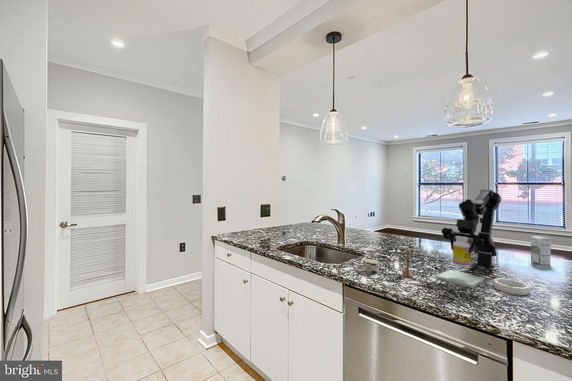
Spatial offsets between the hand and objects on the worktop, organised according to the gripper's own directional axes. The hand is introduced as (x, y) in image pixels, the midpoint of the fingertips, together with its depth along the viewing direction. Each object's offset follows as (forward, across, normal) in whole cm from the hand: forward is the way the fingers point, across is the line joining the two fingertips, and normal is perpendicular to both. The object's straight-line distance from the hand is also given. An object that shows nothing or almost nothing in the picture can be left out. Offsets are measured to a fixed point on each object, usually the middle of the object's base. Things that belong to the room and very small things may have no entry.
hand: (460, 251), depth 117 cm
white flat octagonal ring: (+6, +17, +13) cm, 22 cm away
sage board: (+9, 0, +10) cm, 13 cm away
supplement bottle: (+4, 0, +6) cm, 7 cm away
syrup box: (-36, +17, +56) cm, 68 cm away
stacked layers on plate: (+25, -31, -6) cm, 40 cm away
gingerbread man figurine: (+18, -18, +1) cm, 25 cm away
